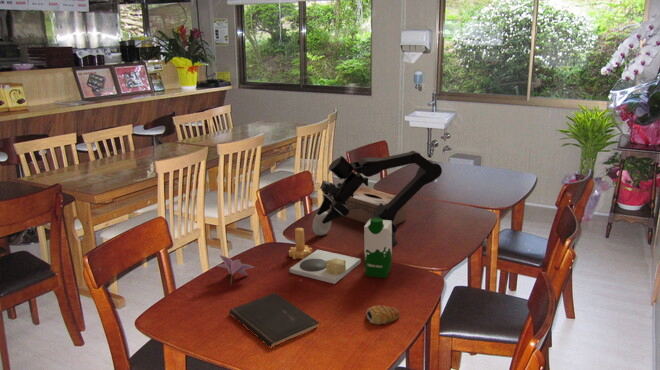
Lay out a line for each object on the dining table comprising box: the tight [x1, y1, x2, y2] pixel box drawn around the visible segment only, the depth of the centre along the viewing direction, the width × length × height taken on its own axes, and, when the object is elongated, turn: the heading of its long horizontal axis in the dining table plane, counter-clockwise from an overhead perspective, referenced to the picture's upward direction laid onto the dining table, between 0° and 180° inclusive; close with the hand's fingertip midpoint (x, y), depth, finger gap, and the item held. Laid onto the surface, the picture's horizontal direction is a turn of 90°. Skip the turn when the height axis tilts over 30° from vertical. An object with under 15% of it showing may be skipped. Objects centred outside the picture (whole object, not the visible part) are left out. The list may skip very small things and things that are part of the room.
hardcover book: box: [229, 292, 320, 347], centre depth 155 cm, size 16×23×2 cm
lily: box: [216, 254, 255, 285], centre depth 180 cm, size 12×12×10 cm
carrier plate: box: [289, 249, 362, 285], centre depth 187 cm, size 18×18×4 cm
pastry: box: [365, 304, 401, 326], centre depth 155 cm, size 9×7×4 cm
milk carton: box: [363, 218, 393, 279], centre depth 180 cm, size 9×9×20 cm
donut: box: [312, 211, 332, 237], centre depth 216 cm, size 10×4×10 cm, turn 141°
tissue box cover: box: [343, 186, 408, 226], centre depth 233 cm, size 26×14×10 cm, turn 43°
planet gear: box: [288, 227, 313, 261], centre depth 198 cm, size 9×9×10 cm
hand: (320, 218), depth 197 cm, fingers open, 9 cm apart
